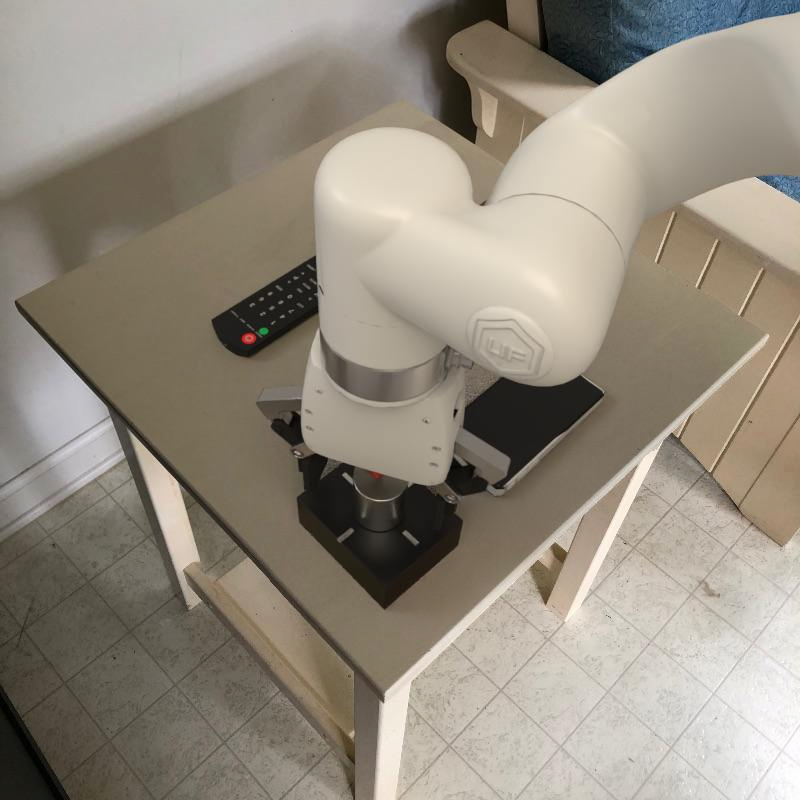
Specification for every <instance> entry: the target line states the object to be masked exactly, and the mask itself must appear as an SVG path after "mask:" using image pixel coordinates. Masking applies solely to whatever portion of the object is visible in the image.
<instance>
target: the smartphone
mask: <svg viewBox="0 0 800 800" xmlns="http://www.w3.org/2000/svg"><path fill="white" fill-rule="evenodd" d="M605 394H606V391H605V390H604V389H603V388H601V387H600V386H599V385H597V384H596V383H594V382H593V381H591V380H590V379H588V378H587V377H586V376H584V375H583V374H582V373H581V374H580V375H579V376H578V377H576V378H575V379H573V380H571V381H568V382H566V383H564V384H559V385H555V386H532V385H527V384H522V383H518V382H515V381H512V380H510V379H507V378H505V377H502V376H500V377H499V378H498V379H497V380H496V381H495V382H494V383H493V384H491V385H490V386H489V387H487V388H486V389H485V390H484V391H483V392H482V393H481V394H479V395H478V396H477V397H476V398H474V399H473V400H472V401H470V403H468V404H467V405H465V411H464V421H463V429H465V430H467V431H468V432H470V433H471V434H473V435H474V436H476V437H478V438H479V439H481V440H482V441H484V442H486V443H487V444H489V445H490V446H492V447H494V448H495V449H497V450H498V451H500V452H502V453H503V454H505V455H506V456H508V457H509V458H510V465H509V468H508V472H507V476H506V477H505V478H503V479H502V480H500V481H498V482H496V483H495V484H493V485H492V484H491V485H489V486H487V489H486V491H488V492H489V493H490V494H492V495H493V496H494V497H497V496H498V497H499V496H501V497H502V496H503V495H504V494H506V493H507V492H509V490H511V489H512V488H513V487H514V486H515V485H516V484H518V482H520V481H521V480H523V478H524V477H525V476H526V475H527V474H528V473H529V472H531V471H532V470H533V469H534V468H535V467H536V466H537V465H538V464H539V462H540V461H541V460H543V458H544V457H545V456H546V455H547V454H548V453H549V452H550V451H552V450H553V449H554V448H555V447H556V446H557V445H558V444H559V443H560V442H561V441H562V440H563V439H565V438H566V437H567V436H568V435H569V434H570V433H571V432H572V431H573V430H574V429H575V428H576V427H577V426H578V425H580V424H581V423H582V421H584V420H585V419H586V418H587V417H588V416H589V415H590V414H592V412H593V411H595V409H597V407H599V406H600V405H601V404H602V402H603V400H604V397H605ZM463 460H464V459H463ZM464 461H465V460H464ZM465 462H466V463H467V464H468V465H469V464H470V463H469V462H467V461H465Z"/></svg>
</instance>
